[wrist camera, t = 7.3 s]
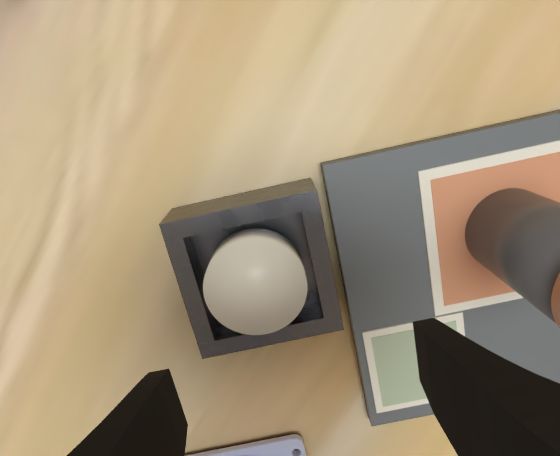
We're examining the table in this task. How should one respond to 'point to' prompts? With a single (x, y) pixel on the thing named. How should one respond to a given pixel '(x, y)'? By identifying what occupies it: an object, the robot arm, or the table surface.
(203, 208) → the button housing
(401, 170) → the picture board
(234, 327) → the button
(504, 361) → the robot arm
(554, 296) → the grey canister
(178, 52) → the table surface
